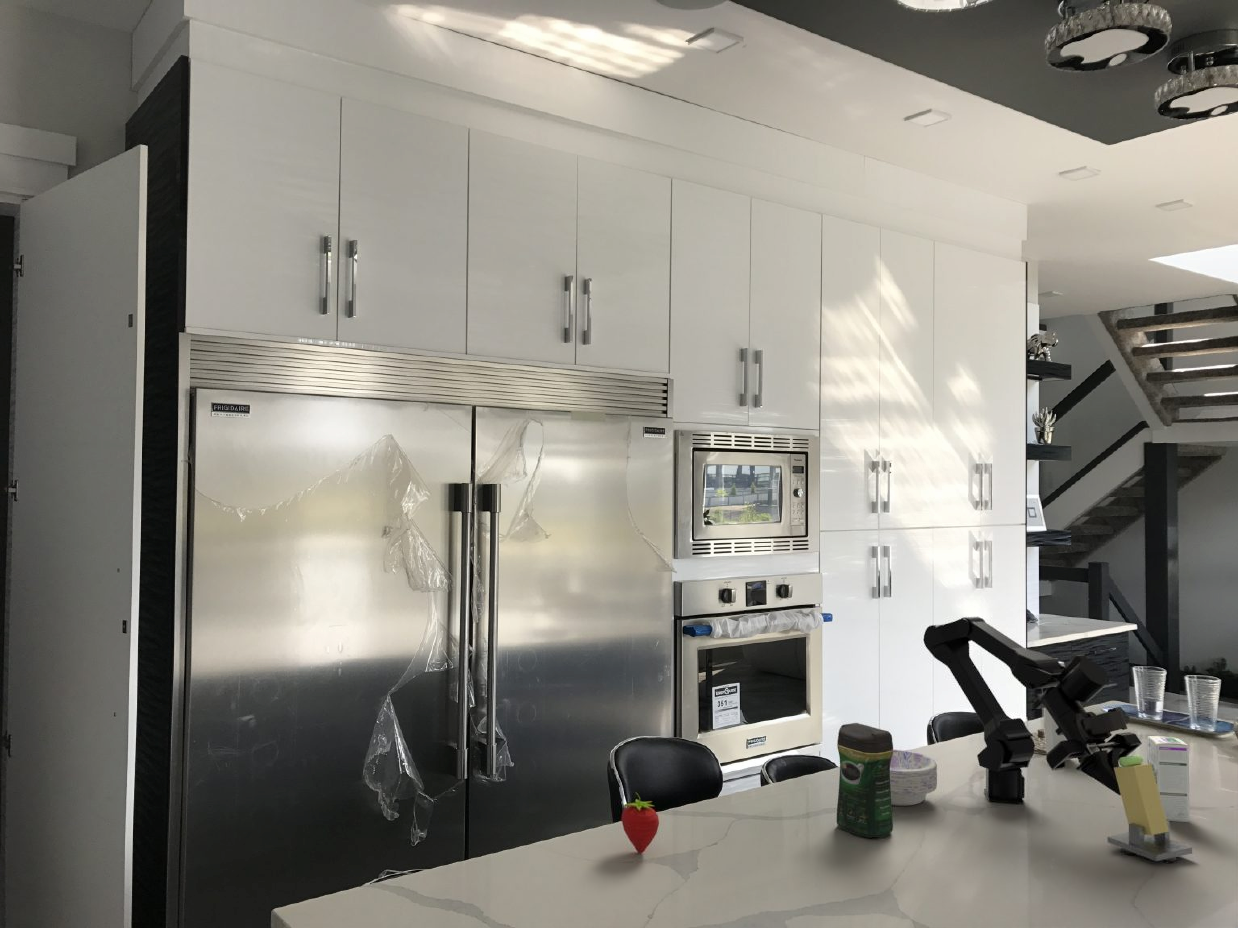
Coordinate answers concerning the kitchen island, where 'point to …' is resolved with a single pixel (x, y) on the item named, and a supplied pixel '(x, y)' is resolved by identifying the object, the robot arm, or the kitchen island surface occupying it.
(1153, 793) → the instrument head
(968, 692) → the robot arm
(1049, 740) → the faceted bottle
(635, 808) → the strawberry
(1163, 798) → the syrup box
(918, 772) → the paper bowls
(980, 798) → the kitchen island surface
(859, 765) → the coffee jar
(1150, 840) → the base
